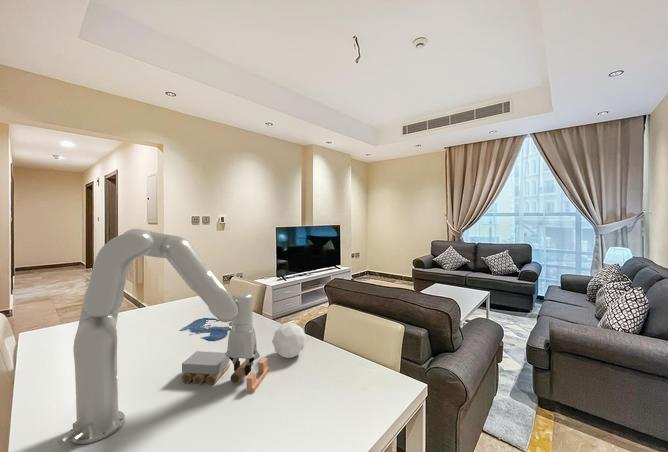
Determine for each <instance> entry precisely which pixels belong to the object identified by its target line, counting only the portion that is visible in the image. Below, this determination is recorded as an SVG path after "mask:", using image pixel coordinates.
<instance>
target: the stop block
mask: <svg viewBox="0 0 668 452" xmlns="http://www.w3.org/2000/svg"><path fill="white" fill-rule="evenodd" d="M269 372H270V366H268V357H262V358H261V360H259V362H258V376H259V378H258V379H257V372H254V371H251V372H250V373H249V374H248V375H247V377H246V382H245V383H246V387H245V388H246V389H245V390H246V391H245V392H246V393H251V394H252V393H253V394H255V392H256V390H257V389H258V387H259V386H260V384H261V383H262V382H263V380H264V379H265V378H266V376H267V374H269Z"/></svg>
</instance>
